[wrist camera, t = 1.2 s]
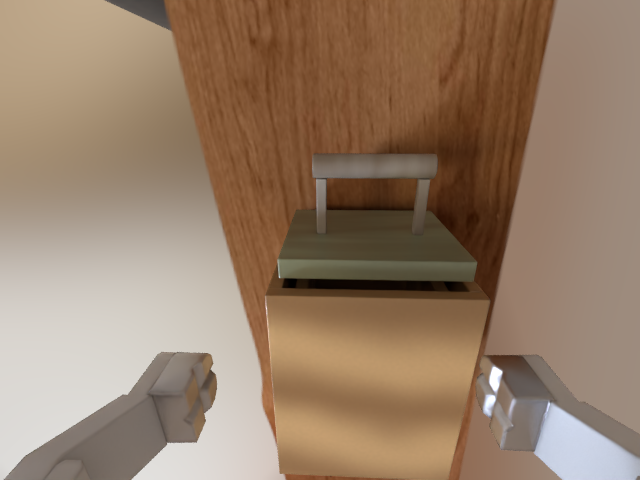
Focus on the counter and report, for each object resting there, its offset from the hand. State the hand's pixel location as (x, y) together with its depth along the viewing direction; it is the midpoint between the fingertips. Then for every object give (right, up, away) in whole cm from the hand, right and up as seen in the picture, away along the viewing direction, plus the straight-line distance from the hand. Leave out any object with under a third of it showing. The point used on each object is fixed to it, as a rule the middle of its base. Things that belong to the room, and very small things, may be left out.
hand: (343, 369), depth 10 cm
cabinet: (+3, -2, +19) cm, 20 cm away
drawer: (+3, +2, +17) cm, 17 cm away
